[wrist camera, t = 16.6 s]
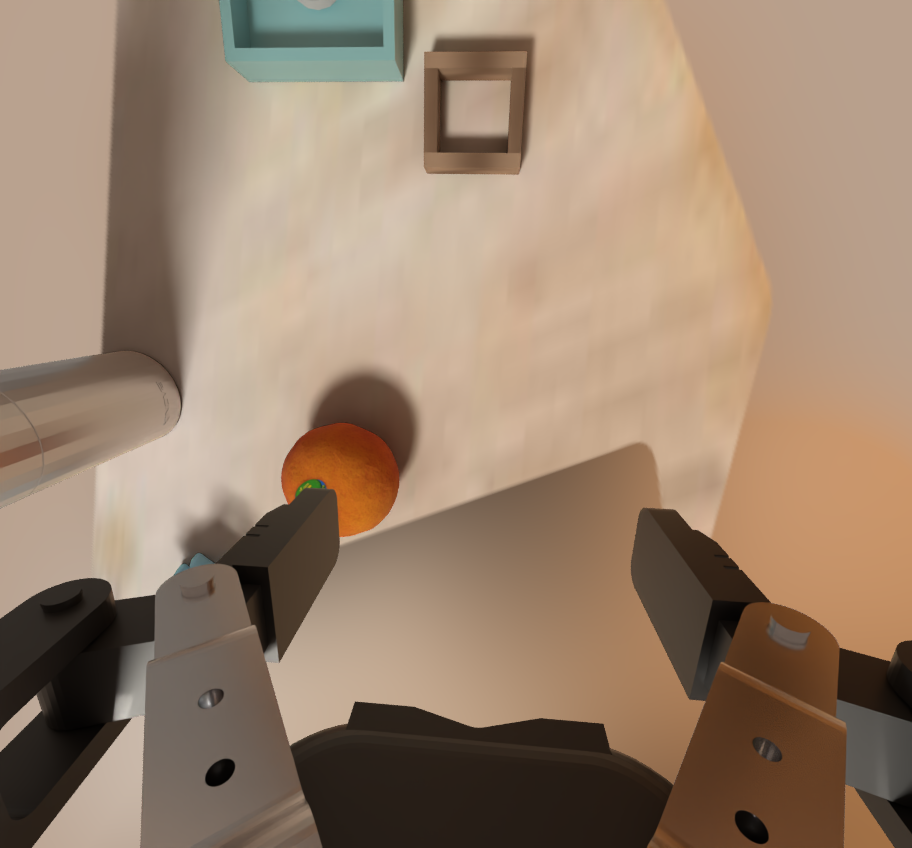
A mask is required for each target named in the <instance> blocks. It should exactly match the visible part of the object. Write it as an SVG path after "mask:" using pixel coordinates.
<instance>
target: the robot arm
mask: <svg viewBox="0 0 912 848" xmlns="http://www.w3.org/2000/svg"><path fill="white" fill-rule="evenodd" d="M180 410H181V403H180V396H179V392H178V389H177V387H176V385H175V382H174V380H173V379H172V377H171V376H170V375H169V373H168V372H167V371H166V370H165V369H164V368H163V367H162V366H161V365H160V364H159V363H158V362H156V361H155V360H154V359H152V358H151V357H148V356H146V355H144V354H142V353H138V352H134V351H118V352H111V353H105V354H99V355H93V356H85V357H79V358H73V359H66V360H61V361H54V362H48V363H41V364H35V365H29V366H23V367H16V368H10V369H4V370H0V509H1V508H3V507H5V506H7V505H10V504H12V503H14V502H16V501H18V500H21V499H23V498H25V497H27V496H29V495H31V494H34V493H36V492H38V491H41V490H43V489H45V488H47V487H49V486H52V485H54V484H57V483H59V482H61V481H63V480H66V479H68V478H70V477H72V476H75V475H77V474H79V473H81V472H84V471H86V470H88V469H90V468H93V467H95V466H97V465H99V464H102V463H104V462H106V461H109V460H111V459H113V458H115V457H118V456H120V455H122V454H124V453H127V452H129V451H131V450H134V449H136V448H138V447H140V446H143V445H145V444H147V443H149V442H152V441H154V440H156V439H158V438H160V437H163V436H165V435H166V434H167V433H169V432H170V431H171V430H172V429H173V428H174V426H175V425H176V423H177V421H178V419H179V416H180ZM339 545H340V539H339V522H338V505H337V495H336V492H335V490H334V489H322V488H304V489H303V490H302V491H301V492H300V494H299V495H298V496H297V497H296V498H295V499H294V500H293V501H292V502H291V503H290V504H289V505H286V504H284V505H282V506H280V507H278V508H276V509H274V510H272V511H270V512H268V513H267V514H266V515H264V516H263V517H262V518H261V519H260V520H259V521H258V522H257V523H256V524H255V527H252V528H251V529H250V530H249V531H248V532H247V533H246V536H243V537H242V538H241V539H240V540H239V541H238V542H237V543H236V544H235V545H234V546H233V547H232V548H231V549H230V550H229V551H228V552H227V553H226V554H225V555H224V556H223V557H222V558H221V559H220V560H219V561H218V562H217V563H216V564H206V565H200V566H196V567H193V568H189V569H187V570H184V571H182V572H180V573H178V574H176V575H174V576H172V577H171V578H169V579H168V580H167V581H165V582H164V583H163V584H162V585H161V586H160V587H159V589H158V590H157V592H156V595H151V596H144V597H137V598H129V599H122V600H114V596H113V592H112V588H111V585H110V583H109V582H107V581H105V580H103V579H97V578H87V579H79V580H74V581H69V582H66V583H62V584H60V585H56V586H54V587H51V588H48V589H46V590H44V591H42V592H40V593H38V594H36V595H35V596H32V597H31V598H29V599H28V600H26V601H25V602H23V603H22V604H20V605H19V606H18V607H16V608H15V609H14V610H12V611H11V612H9V613H8V614H6V615H5V616H4V617H2V618H1V619H0V730H1V728H2V727H3V726H4V725H5V724H6V723H7V722H8V721H9V720H10V719H11V718H12V717H13V716H14V715H15V714H16V713H17V712H18V711H19V710H20V709H21V708H22V707H23V706H25V705H26V704H27V703H28V702H29V701H30V700H31V699H32V698H33V697H34V696H35V695H36V694H37V697H38V700H39V703H40V706H41V709H42V711H41V712H40V713H39V714H38V715H37V716H36V717H35V718H34V719H33V720H32V721H31V722H30V723H29V724H28V725H27V726H26V727H25V728H24V729H23V730H22V731H21V732H20V733H19V734H18V735H17V736H16V737H15V738H14V739H13V740H12V741H11V742H10V743H9V744H8V745H7V746H6V747H5V748H4V749H3V750H2V751H1V752H0V848H32V847H33V845H34V844H35V843H36V842H37V840H38V839H39V838H40V836H41V835H42V834H43V832H44V831H45V830H46V829H47V827H48V826H49V825H50V823H51V822H52V821H53V820H54V818H55V817H56V816H57V814H58V813H59V812H60V810H61V809H62V808H63V806H64V805H65V804H66V803H67V801H68V800H69V799H70V798H71V796H72V795H73V794H74V792H75V791H76V790H77V789H78V787H79V786H80V785H81V783H82V782H83V781H84V779H85V778H86V777H87V776H88V774H89V773H90V771H91V770H92V769H93V768H94V766H95V765H96V764H97V762H98V761H99V760H100V759H101V758H102V756H103V755H104V754H105V752H106V751H107V750H108V748H109V747H110V746H111V745H112V743H113V742H114V741H115V739H116V738H117V737H118V736H119V734H120V733H121V732H122V730H123V729H124V727H125V726H126V725H127V724H128V723H129V721H130V720H131V719H132V718H133V717H138V716H143V715H145V723H144V753H143V784H142V785H143V786H142V814H141V845H140V848H844V818H845V816H844V815H845V784H846V785H849V786H852V787H854V788H855V789H856V791H857V793H858V794H859V796H860V797H861V799H862V800H863V801H864V803H865V805H866V806H867V807H868V809H869V810H870V812H871V813H872V815H873V816H874V818H875V819H876V821H877V822H878V824H879V825H880V826H881V828H882V830H883V831H884V833H885V834H886V836H887V837H888V838H889V840H890V841H891V843H892V844H893V846H894V847H895V848H912V641H904V642H901V643H899V644H898V645H897V648H896V650H895V652H894V655H893V658H892V660H891V662H890V661H886V660H882V659H879V658H875V657H871V656H868V655H864V654H860V653H856V652H853V651H849V650H846V649H842V648H839V645H838V642H837V640H836V639H835V637H834V636H833V635H832V634H831V633H830V632H829V631H828V630H827V629H826V628H825V627H824V626H823V625H821V624H820V623H818V622H817V621H815V620H814V619H812V618H810V617H809V616H807V615H805V614H803V613H801V612H799V611H796V610H794V609H791V608H788V607H786V606H782V605H778V604H774V603H771V602H770V601H769V600H768V599H767V598H766V597H765V595H764V594H763V593H762V592H761V591H760V590H759V589H758V588H757V587H756V586H755V584H754V583H753V582H752V581H751V580H750V579H749V578H748V577H747V575H746V574H745V573H744V572H743V571H742V570H739V567H738V566H737V564H736V563H735V562H734V561H733V560H732V559H731V558H729V556H728V554H727V553H726V552H725V551H724V550H723V549H722V548H721V547H720V546H719V545H718V543H717V542H715V541H714V540H712V539H711V538H709V537H707V536H706V535H704V534H703V533H701V532H700V531H698V530H692V529H691V528H690V526H689V525H688V524H687V523H686V522H685V521H684V519H683V518H682V517H681V516H680V515H679V513H678V512H677V511H676V510H673V509H655V508H643V509H642V510H641V511H640V514H639V518H638V523H637V530H636V535H635V541H634V548H633V554H632V560H631V575H632V581H633V584H634V587H635V589H636V591H637V593H638V595H639V597H640V599H641V601H642V604H643V606H644V608H645V610H646V612H647V613H648V616H649V618H650V620H651V622H652V624H653V626H654V628H655V630H656V632H657V634H658V636H659V638H660V640H661V642H662V644H663V647H664V649H665V651H666V653H667V655H668V657H669V659H670V661H671V663H672V665H673V667H674V669H675V671H676V673H677V675H678V677H679V679H680V681H681V684H682V686H683V687H684V690H685V692H686V694H687V696H688V698H689V699H691V700H703V701H705V704H704V706H703V709H702V712H701V714H700V717H699V720H698V722H697V725H696V728H695V730H694V733H693V735H692V738H691V741H690V743H689V746H688V748H687V751H686V754H685V756H684V759H683V762H682V764H681V767H680V770H679V772H678V775H677V777H676V780H675V783H674V785H672V784H671V783H670V782H669V781H668V780H667V779H665V778H664V777H662V776H661V775H660V774H658V773H657V772H655V771H654V770H652V769H651V768H649V767H648V766H646V765H644V764H643V763H641V762H639V761H637V760H636V759H634V758H631V757H630V756H627V755H625V754H623V753H621V752H619V751H616V750H613V749H611V748H610V747H609V743H608V740H607V736H606V732H605V728H604V724H599V723H588V722H577V721H565V720H554V719H543V718H539V719H534V720H528V721H521V722H515V723H509V724H503V725H496V726H490V727H484V728H474V727H470V726H467V725H464V724H461V723H459V722H456V721H453V720H450V719H447V718H444V717H441V716H439V715H436V714H433V713H430V712H427V711H425V710H422V709H419V708H416V707H408V706H398V705H387V704H376V703H365V702H355V703H354V706H353V709H352V713H351V716H350V719H349V722H348V724H344V725H338V726H335V727H331V728H328V729H324V730H322V731H319V732H317V733H314V734H312V735H309V736H307V737H306V738H303V739H301V740H299V741H298V742H296V743H294V744H292V745H291V746H290V745H289V742H288V738H287V735H286V731H285V728H284V724H283V720H282V717H281V714H280V710H279V706H278V703H277V699H276V696H275V692H274V688H273V685H272V682H271V678H270V674H269V671H268V667H267V664H266V662H275V663H279V662H280V660H281V659H282V657H283V655H284V653H285V651H286V650H287V648H288V646H289V645H290V643H291V641H292V639H293V637H294V635H295V634H296V632H297V630H298V629H299V627H300V625H301V623H302V622H303V620H304V618H305V616H306V615H307V613H308V611H309V609H310V608H311V606H312V604H313V602H314V600H315V599H316V597H317V595H318V594H319V592H320V590H321V588H322V587H323V585H324V583H325V581H326V580H327V578H328V576H329V574H330V573H331V571H332V569H333V567H334V566H335V563H336V561H337V557H338V553H339Z"/></svg>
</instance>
